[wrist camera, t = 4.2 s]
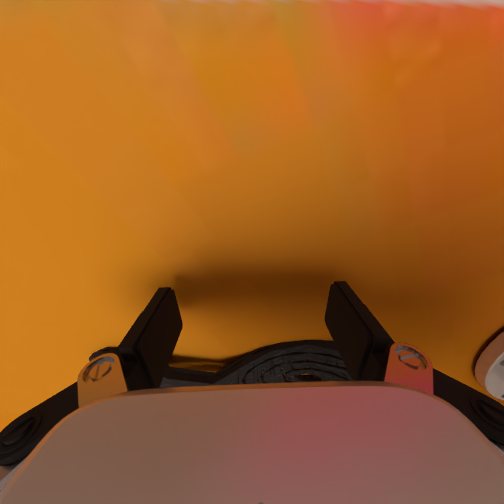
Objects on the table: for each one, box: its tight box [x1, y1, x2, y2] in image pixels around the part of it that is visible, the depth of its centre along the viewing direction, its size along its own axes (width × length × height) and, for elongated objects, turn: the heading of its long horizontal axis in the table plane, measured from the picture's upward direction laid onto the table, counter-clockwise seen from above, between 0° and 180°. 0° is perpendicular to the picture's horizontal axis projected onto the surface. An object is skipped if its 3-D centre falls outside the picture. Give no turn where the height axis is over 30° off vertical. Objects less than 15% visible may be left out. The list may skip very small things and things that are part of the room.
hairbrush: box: [89, 340, 355, 388], centre depth 15 cm, size 8×4×25 cm
